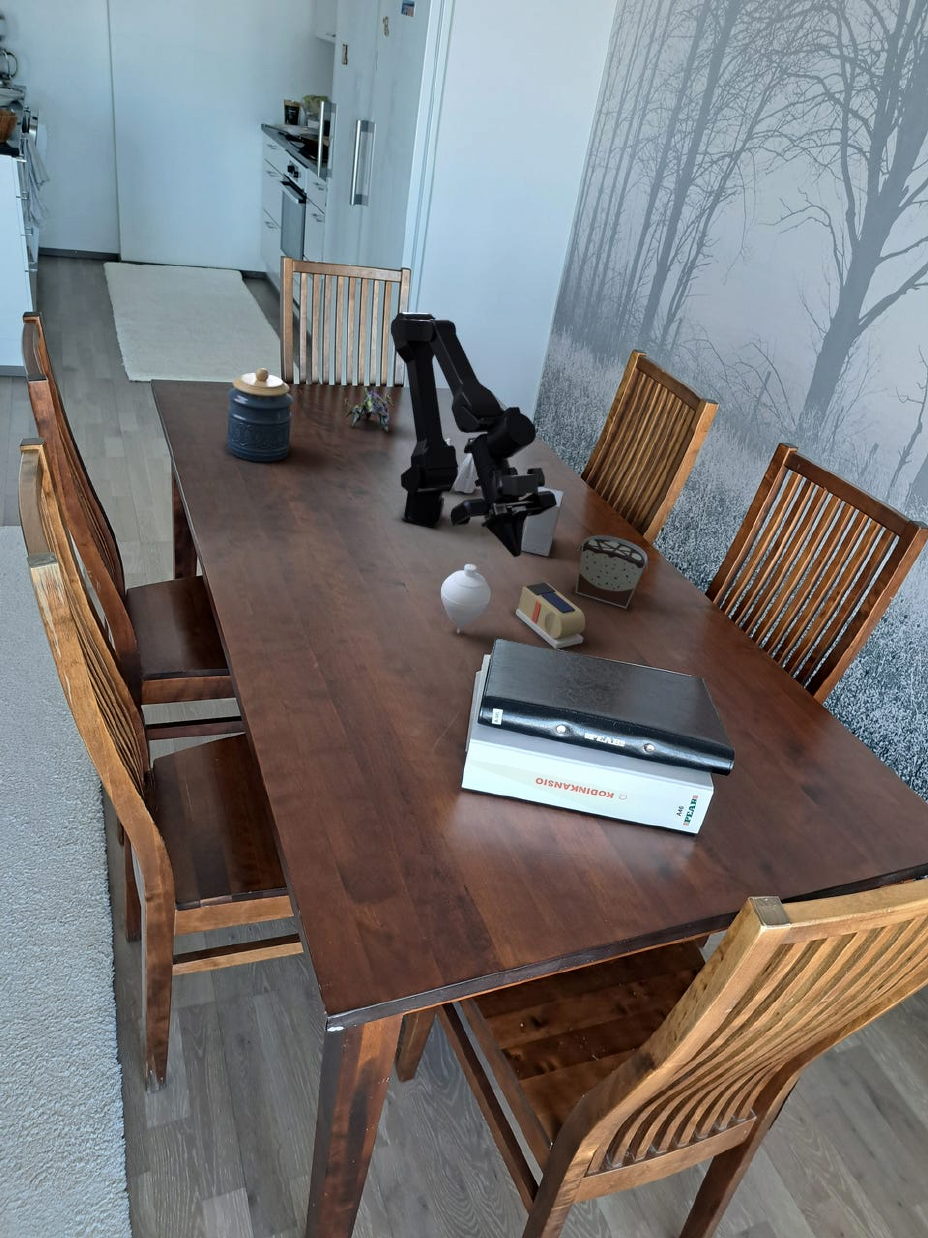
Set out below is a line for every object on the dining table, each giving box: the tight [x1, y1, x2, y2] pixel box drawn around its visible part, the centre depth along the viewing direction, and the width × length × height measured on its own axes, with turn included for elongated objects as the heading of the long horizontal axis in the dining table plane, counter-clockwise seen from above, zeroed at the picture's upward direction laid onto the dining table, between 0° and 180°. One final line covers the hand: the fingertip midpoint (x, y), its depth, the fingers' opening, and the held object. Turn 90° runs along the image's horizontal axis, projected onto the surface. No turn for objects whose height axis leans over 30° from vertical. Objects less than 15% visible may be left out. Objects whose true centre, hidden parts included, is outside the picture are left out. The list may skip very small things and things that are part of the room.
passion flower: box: [343, 387, 396, 432], centre depth 212 cm, size 11×11×12 cm
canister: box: [226, 367, 294, 463], centre depth 186 cm, size 13×13×18 cm
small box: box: [521, 486, 565, 557], centre depth 171 cm, size 8×6×10 cm
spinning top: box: [440, 563, 492, 634], centre depth 139 cm, size 8×8×12 cm
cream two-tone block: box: [515, 582, 586, 650], centre depth 146 cm, size 6×6×11 cm
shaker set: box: [444, 438, 478, 494], centre depth 187 cm, size 12×4×11 cm, turn 104°
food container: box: [574, 535, 649, 610], centre depth 159 cm, size 12×6×10 cm, turn 71°
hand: (517, 556), depth 152 cm, fingers closed
